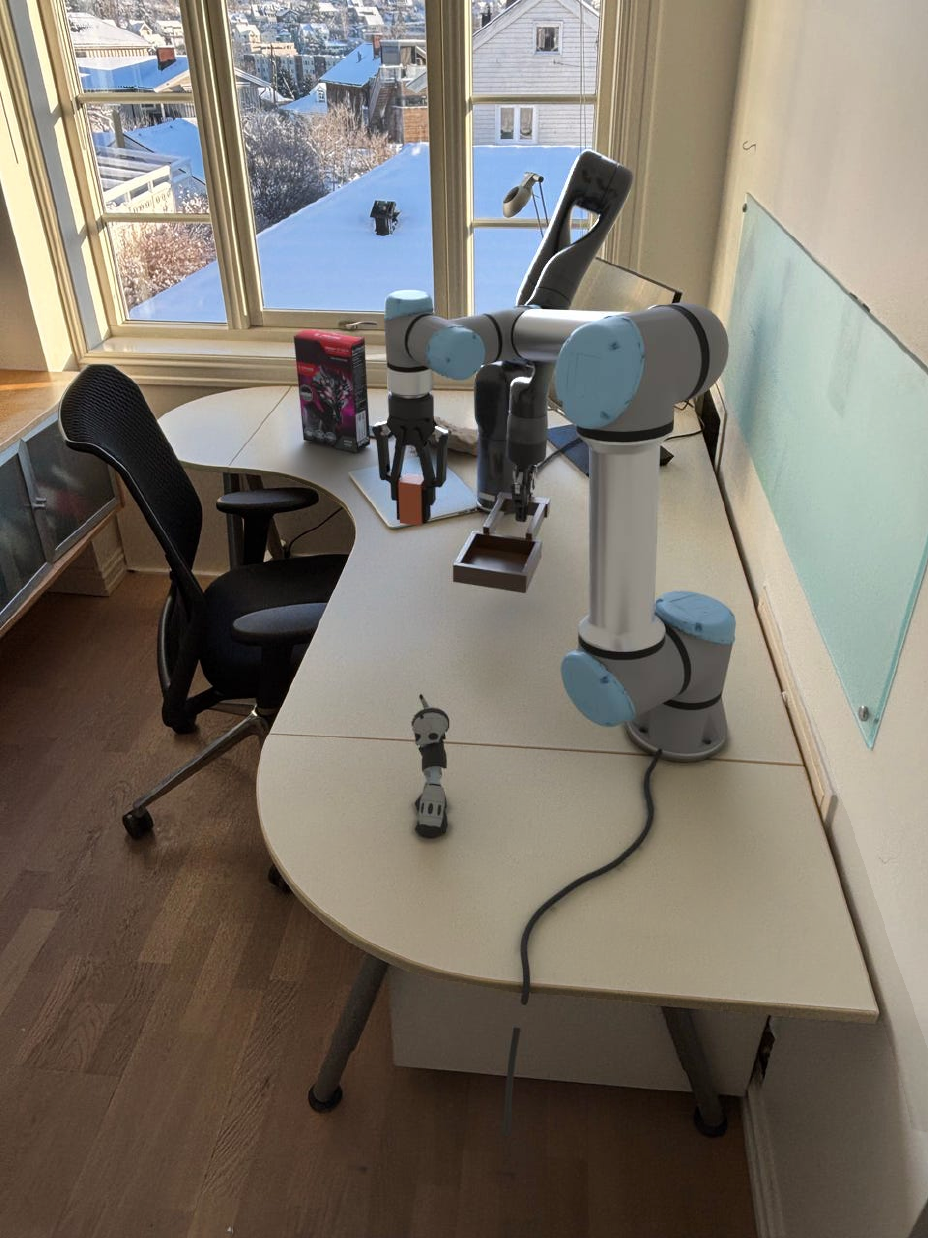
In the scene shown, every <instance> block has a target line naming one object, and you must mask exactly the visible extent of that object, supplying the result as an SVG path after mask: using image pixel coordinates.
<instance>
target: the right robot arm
mask: <svg viewBox="0 0 928 1238" xmlns="http://www.w3.org/2000/svg"><path fill="white" fill-rule="evenodd" d="M434 312H435V308H434V304H433V298H432V297H431V295H430V293H428V292H426V291H422V290H417V289H404V290H398V291H393V292H391V293H390V294H388V295H387V296H386V297H385V299H384V318H383V322H384V338H385V339H384V340H385V356H386V357H385V358H386V384H387V387H386V389H387V390H388V393H387V408H388V409H387V410H388V411H387V412H388V417H387V419H386V421H381V420H379V421H377V422H376V423H375V424H374V425H373V426H372V428H371V432H372V434H373V435H374V438H375V441H376V452H377V454H376V455H377V463H378V476H379V479H380V480H381V481H386V482H388V483H389V484H390V485H389V486H390V498H391V501H392V502H393V501H394V502H395V506H396V520H397V521H400V516H399V487H398V482H399V481H400V479H401V478H402V471H403V466H404V461H405V456H406V450H407V447H408V446H411V447H414V448H415V450H416V451H415V452H416V453H417V454H418V459H419V463H420V467H421V472H422V475H423V477H424V482H425V486H424V487H423V489H422V523H423V525H424V524H425V525H426V524H427V523H428V522H429V520H430V519H431V517H432V515H431V514H432V513H431V511H432V510H431V509H432V508H431V507H432V506H433V505H434V504H435V503H436V500H437V498H436V497H437V495H436V492H437V491H436V490H437V488H442V487H443V485H444V484H445V482H446V481H447V473H448V472H447V471H448V469H447V467H448V448H447V446H448V440H449V438H450V436H451V430H450V429H446V430H444V429H442V428H440V427H438V426H437V424H436V421H435V419H434V416H435V403H434V402H435V400H434V399H435V398H434V395H435V394H434V391H433V389H434V373H436V374H438V375H440V376H441V377H445V378H446V379H447V378H448V379H452V380H453V381H465V380H469V379H471V378H472V377H473V376H474V375H476V372H478V371H479V369H480V368H481V366H483V365H487V364H491V363H495V362H500V361H505V360H510V359H520V360H533V361H542V362H551V363H557V364H556V369H555V372H554V387H555V393H556V394H555V395H556V398H557V401H558V402H559V403H562V406H561V411H562V412H563V414H564V416H565V417H566V419H567V420H569V421H570V422H571V423H572V424H574V425H575V430H576V431H575V432H576V435H577V436H578V437H580V438H581V439H580V440H582V442H584V444H586V445H587V446H588V510H589V511H588V514H589V515H588V538H589V539H588V565H589V566H588V568H589V569H588V570H589V571H588V572H589V576H588V578H589V579H588V581H589V583H588V585H589V586H588V589H589V590H588V592H589V594H588V595H589V597H588V599H589V601H588V603H589V607H588V608H589V609H588V610H589V613H588V614H587V615H586V616H585V617H583V618H582V619H581V621H580V622H579V624H578V629H577V635H578V636H577V639H578V640H577V641H578V642H577V643H578V644H577V645H578V646H577V649H574V650H573V649H572V650H570V651H569V652H568V653H567V654H566V656H564V657H563V658H562V660H561V664H560V676H561V680H562V685H563V688H564V689H565V692H566V694H567V696H568V698H569V700H570V701H571V702H572V704H573V705H574V707H575V708H576V709H577V710H578V711H579V713H581V715H582V716H584V717H585V718H586V719H587V720H588V721H590V722H591V723H593V724H595V725H597V726H600V727H602V728H603V727H604V728H612V727H616V726H619V725H622V724H624V723H625V728H626V732H627V734H628V736H629V738H630V739H631V741H632V742H634V744H636V745H637V746H638V747H639V748H640V749H641V750H643V751H645V752H646V753H648V754H650V755H651V756H653V758H652V761H651V763H650V764H649V765H648V767H647V769H646V771H645V774H644V779H643V791H644V796H645V797H644V798H645V801H646V805H647V812H648V813H647V818H646V822H645V825H644V827H643V829H642V831H641V833H640V835H639V836H638V837H637V839H636V840H635V841H634V842H633V843H632V844H631V845H630V846H629V847H628V848H627V849H626V850H625V851H624V852H622V853H621V854H620V855H619V856H618V857H616V859H614V860H612V861H611V862H609V863H608V864H606V865H604V866H602V867H600V868H597V869H595V870H594V871H591V872H589V873H587V874H585V875H583V876H580V877H579V878H577V879H575V880H574V881H571V882H570V883H569V884H568V885H566V886H564V888H562V889H561V890H559V891H558V892H556V893H555V894H554V895H553V896H551V897H550V898H549V899H548V900H546V901H545V902H543V904H541V905H540V907H538V909H536V911H535V912H534V913H533V914H532V916H531V917H530V919H529V920H528V922H527V924H526V926H525V928H524V930H523V933H522V934H521V935H522V936H521V940H520V959H521V968H522V990H521V997H520V998H521V999H520V1004H521V1005H523V1006H526V1005H528V1003H529V998H530V989H531V971H530V964H529V963H530V962H529V955H528V941H529V937H530V935H531V933H532V930H533V928H534V926H535V925H536V923H537V922H538V920H540V918H541V917H542V915H544V913H546V911H548V910H549V909H550V908H551V907H552V906H554V904H556V903H558V902H559V901H560V900H562V899H563V897H566V895H568V894H569V893H571V892H572V891H573V890H575V889H576V888H578V887H580V886H581V885H583V884H586V883H587V882H589V881H592V880H594V879H595V878H599V876H602V875H604V874H606V873H608V872H610V871H612V870H613V869H615V868H617V867H618V866H620V865H621V864H622V863H623V862H624V861H626V860H627V859H628V858H629V857H630V856H631V855H632V854H633V853H634V852H635V851H636V850H637V849H638V848H639V847H640V846H641V845H642V844H643V842H644V841H645V839H646V838H647V836H648V835H649V833H650V830H651V828H652V825H653V821H654V818H655V806H654V802H653V798H652V794H651V789H650V787H651V786H650V781H651V776H652V774H653V772H654V770H655V768H656V766H657V764H658V762H659V760H660V759H662V760H666V761H670V762H675V763H694V762H700V761H703V760H706V759H709V758H711V757H714V755H716V754H718V752H720V751H721V750H722V748H723V747H724V744H725V743H726V740H727V739H726V738H727V734H728V721H727V716H726V712H725V708H724V707H725V706H724V701H723V692H724V686H725V682H726V678H727V674H728V668H729V664H730V659H731V654H732V651H733V650H732V649H733V645H734V643H735V641H736V635H735V634H736V627H737V621H736V617H735V615H734V613H733V611H732V610H731V609H730V608H729V607H728V606H727V605H726V604H724V603H723V602H722V601H720V600H719V599H717V598H714V597H712V596H709V595H707V594H703V593H699V592H694V591H689V590H671V591H667V592H664V593H663V594H661V595H659V596H658V597H657V599H656V582H657V581H656V579H657V552H658V551H657V549H658V523H659V521H658V519H659V496H660V495H659V493H660V492H659V491H660V461H661V460H660V459H661V446H662V443H664V442H665V441H666V440H667V439H668V438H669V437H671V435H673V433H674V430H675V408H676V407H675V406H676V405H678V404H681V403H685V402H687V401H690V400H693V399H695V398H698V397H700V396H702V395H703V394H705V393H706V392H708V391H709V390H710V389H711V388H712V387H713V386H714V385H715V384H716V383H717V381H718V380H719V379H720V377H721V376H722V375H723V373H724V370H725V368H726V365H727V362H728V357H729V350H730V349H729V348H730V343H729V336H728V333H727V330H726V328H725V326H724V324H723V322H722V321H721V320H720V318H719V317H718V316H717V315H716V314H715V313H714V312H713V311H712V310H710V309H709V308H707V307H705V306H703V305H700V304H698V303H694V302H674V303H668V304H655V305H653V306H650V307H648V308H645V309H641V310H636V311H635V310H634V311H606V310H605V311H604V310H602V311H601V310H573V309H572V310H570V309H569V310H544V309H542V308H541V307H540V306H537V305H522V306H516V305H515V306H513V307H510V308H506V309H501V310H497V311H492V312H487V313H480V314H473V315H469V316H464V317H458V318H453V319H446V318H443V317H440V316H438V315H436V314H434ZM389 431H390V433H391V435H393V437H394V439H395V442H394V443H395V444H394V454H393V459H392V464H391V461H390V460H391V459H390V458H391V457H390V447H389V436H388V435H389ZM433 433H434V434H435V436H436V438H435V439H436V441H437V442H438V444H437V445H436V455H435V457H436V458H435V460H436V461H435V469H434V464H433V459H432V454H431V450H430V440H429V437H430V436H431V435H432V434H433ZM391 465H392V466H391ZM521 1030H522V1029H521V1028H520V1027H516V1026H514V1027H513V1029H512V1034H511V1035H512V1036H511V1042H510V1048H509V1054H508V1063H507V1071H506V1082H505V1099H504V1101H505V1102H504V1117H503V1131H502V1133H503V1135H504V1136H505V1137H506V1136H509V1135H510V1131H511V1120H512V1119H511V1118H512V1105H513V1103H512V1102H513V1088H514V1078H515V1077H514V1076H515V1066H516V1060H517V1053H518V1046H519V1039H520V1035H521V1034H520V1033H521Z"/></svg>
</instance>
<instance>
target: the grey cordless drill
mask: <svg viewBox="0 0 928 1238" xmlns="http://www.w3.org/2000/svg"><path fill="white" fill-rule="evenodd" d="M418 697H419V698H418V699H419V701H420V703H421V705H422V708H421V709H420V710H419V711H418V712H416V714H414V715H413V717H412V720H411V721H410V722H411V723H410V724H411V731H412V732H413V734H414V745H416V746H417V749H418V752H419V753H420V755H421V772H422V773H423V775H424V776H425V780H426V782H425V783H424V786H423V789H422V792H421V793H420V795H419V796H418V797H417V799H416V800H415V802H414V806H415V808H416V811H417V812H418V821H417V822H416V825H415V828H414V831H415V832H416V833H417V834H418V835H419V836H420V837H421V838H424V839H435V838H438V837H439V836H443V835H444V834H446V832H447V829H448V826H449V823H448V816H447V813H446V811H445V810H446V809H447V808H448V805H447V804H448V803H447V796H446V793H445V790H444V787H443V786H442V784H441V782H440V781H441V779H442V777H443V772H442V769H447V768H448V757H447V752H446V749H445V743H444V741H445V740H446V739H447V738H446V733H448V730H449V729H450V718H449V715H448V714H447V712H445V711H444V710H442V709H441V708H439V707H437V706H430V705H429V704H428V702H427V700H426V698H425V697H424V695H423V693H420V694H419V695H418ZM418 746H419V747H418Z"/></svg>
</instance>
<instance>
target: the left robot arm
mask: <svg viewBox="0 0 928 1238" xmlns="http://www.w3.org/2000/svg"><path fill="white" fill-rule="evenodd" d="M634 175H635V174H634V172H633V171H632V169H630V168H629V167H627V166H625V165H623V164H622V163H620V162H618V161H616V160H614V159H612V158H610V157H607V156H606V155H603V154H602V153H599V152H598V151H595V150H594V149H590V148H585V149H584V150H582V151H581V152H580V153H579V154H578V155H577V157H576V159H575V161H574V163H573V164H572V166H571V169H570V171H569V174H568V176H567V179H566V181H565V184H564V186H563V189H562V191H561V194H560V197H559V199H558V201H557V204H556V207H555V209H554V212H553V214H552V217H551V220H550V222H549V225H548V227H547V228H546V229H547V230H546V232H545V234H544V236H543V239H542V241H541V242H540V244H539V247H538V249H537V251H536V253H535V255H534V257H533V259H532V261H531V263H530V266H528V269H527V272H526V274H525V275H524V278H523V280H522V283H521V285H520V287H519V289H518V293H517V295H516V300H515V306H522V305H537V306H540V307H541V308H542V309H544V310H570V309H571V307H572V305H573V302H574V300H575V298H576V295H577V293H578V291H579V288H580V287H581V284H582V282H583V280H584V278H585V276H586V274H587V272H588V271H589V269H590V267H591V265H592V264H593V262H594V260H595V259H596V257H597V255H598V253H599V252H600V250H601V248H602V247H603V245H604V243H605V242H606V240H607V238H608V236H609V234H610V233H611V230H612V229H613V227H614V225H615V223H616V222H617V220H618V218H619V216H620V214H621V212H622V211H623V208H624V207H625V204H626V203H627V201H628V198H629V195H630V194H631V191H632V188H633V184H634V181H635V180H634V179H635V176H634ZM575 207H577V208H579V209H581V210H583V211H585V212H587V213H589V214H591V215H594V216H595V217H597V219H596V221H595V222H594V224H593V225H592V226H591V228H590V229H588V230H587V232H585V233H584V234H583V235H582V236H581V237H579V238H578V239H576V240H575V241H574V242H572V221H573V220H572V219H573V213H574V208H575ZM556 364H557V363H551V362H542V361H533V360H520V359H510V360H505V361H500V362H495V363H491V364H487V365H483V366H481V368H480V369H479V371H478V372H476V373H475V374H474V375H475V376H474V380H473V414H474V420H475V423H476V425H477V430H478V456H477V462H476V463H477V465H476V466H477V467H476V470H477V471H476V478H477V479H476V499H477V501H478V502H479V503H480V504H481V505H482V506H481V507H480V506H479V505H478V504H477V502H476V501H475V504H476V507H477V508H478V509H479V510H480V511H482V512H484V513H489V514H491V512H492V510H493V508H494V506H495V505H496V503H497V497H498V495H499V493H500V492H503V493H510V494H512V503H513V505H516V512H515V514H514V521H516V522H518V523H519V522H520V523H526V522H527V521H528V515H527V508H528V503H529V501H528V499H529V496H533V495H534V491H535V489H536V483H537V481H536V480H537V473H538V471H539V470H540V469H541V468H542V467H543V466H544V465H545V464H546V463H547V462H549V461H550V460H551V459H552V458H553V457H555V456H556V455H558V453H560V452H562V451H563V450H564V449H566V448H567V447H569V446H571V445H572V444H574V443H575V442H578V441H580V440H582V439H581V438H580V437H579V436H578V437H576V438H574V439H572V440H570V441H569V442H566V444H564V445H562V446H560V447H559V448H558V449H556V450H554V452H552V453H551V454H550V455H549V456H547V445H548V429H549V418H548V410H549V409H548V408H549V395H550V394H549V393H550V388H551V385H552V382H553V379H554V376H555V370H556ZM504 514H508V513H507V512H504Z"/></svg>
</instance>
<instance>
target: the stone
mask: <svg viewBox="0 0 928 1238" xmlns="http://www.w3.org/2000/svg"><path fill="white" fill-rule="evenodd" d="M434 419H435V421H436V424H437V426H438V427H440V428H442V429H444V430H446V429H450V430H451V436H450V438H449V440H448V446H447V449H452V450H454V451H457V452H462V453H464V452H465V453H468V454H470V455H473V456H476V457H478V428H477V429H472V428H468V427H461V426H456V425H455V424H453V423H450V422H448V421H446V420H445V419H441V417H440V416H435V415H434ZM435 438H436V436H435V434H434V433H433V434H432V435H431V436H430V437H429V439H428V440H429V442H430V443H431V444H432V445H434V446H437V444H438V442H437V441H436V439H435Z"/></svg>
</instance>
